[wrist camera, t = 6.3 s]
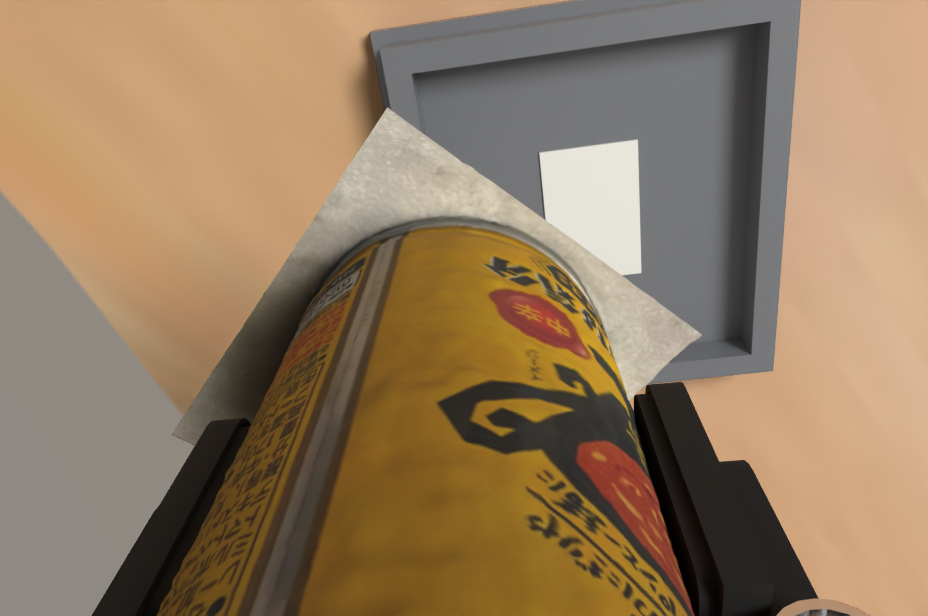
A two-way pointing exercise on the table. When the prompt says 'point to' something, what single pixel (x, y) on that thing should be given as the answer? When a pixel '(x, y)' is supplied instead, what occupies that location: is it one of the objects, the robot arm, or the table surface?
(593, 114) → the dock
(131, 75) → the table surface
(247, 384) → the condiment
